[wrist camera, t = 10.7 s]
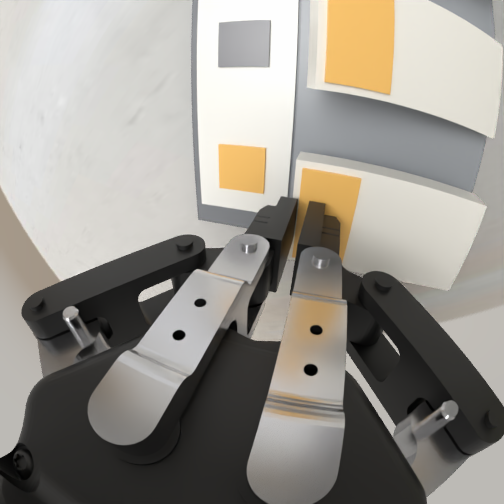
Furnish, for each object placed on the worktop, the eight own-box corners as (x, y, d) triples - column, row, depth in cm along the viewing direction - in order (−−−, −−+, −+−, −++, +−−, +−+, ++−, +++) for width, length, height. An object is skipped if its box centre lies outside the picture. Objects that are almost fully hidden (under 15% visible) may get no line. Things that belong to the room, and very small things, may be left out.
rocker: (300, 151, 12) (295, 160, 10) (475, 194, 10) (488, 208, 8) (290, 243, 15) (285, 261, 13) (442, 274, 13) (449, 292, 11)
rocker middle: (310, -23, 6) (319, -36, 5) (484, 43, 6) (505, 46, 5) (306, 87, 9) (315, 89, 8) (476, 130, 9) (496, 140, 8)
